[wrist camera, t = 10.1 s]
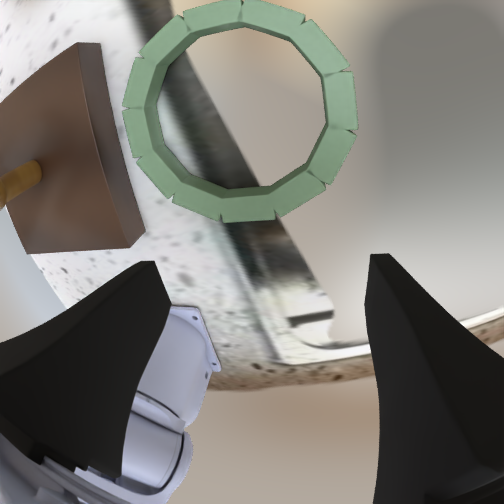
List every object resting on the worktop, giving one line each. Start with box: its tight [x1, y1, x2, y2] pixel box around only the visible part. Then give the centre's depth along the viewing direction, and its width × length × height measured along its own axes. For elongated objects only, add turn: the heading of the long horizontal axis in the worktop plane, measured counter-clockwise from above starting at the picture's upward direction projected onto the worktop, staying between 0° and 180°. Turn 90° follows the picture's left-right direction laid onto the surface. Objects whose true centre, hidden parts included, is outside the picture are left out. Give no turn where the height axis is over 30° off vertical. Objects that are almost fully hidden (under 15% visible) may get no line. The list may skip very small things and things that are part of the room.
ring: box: [122, 0, 358, 223], centre depth 14 cm, size 13×13×2 cm
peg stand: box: [0, 42, 145, 254], centre depth 15 cm, size 15×15×8 cm
